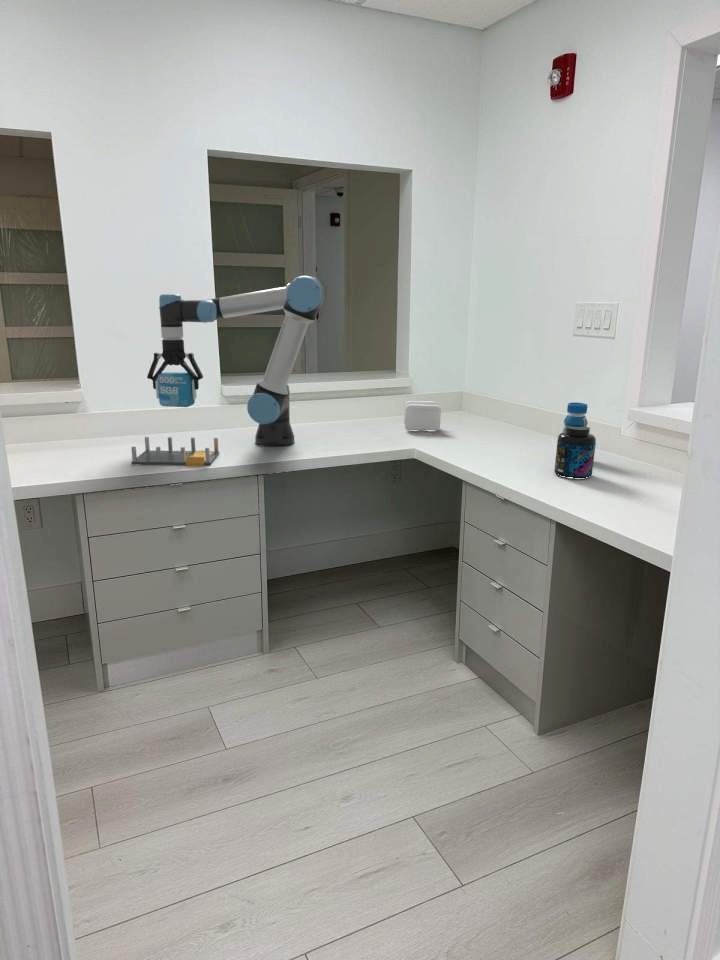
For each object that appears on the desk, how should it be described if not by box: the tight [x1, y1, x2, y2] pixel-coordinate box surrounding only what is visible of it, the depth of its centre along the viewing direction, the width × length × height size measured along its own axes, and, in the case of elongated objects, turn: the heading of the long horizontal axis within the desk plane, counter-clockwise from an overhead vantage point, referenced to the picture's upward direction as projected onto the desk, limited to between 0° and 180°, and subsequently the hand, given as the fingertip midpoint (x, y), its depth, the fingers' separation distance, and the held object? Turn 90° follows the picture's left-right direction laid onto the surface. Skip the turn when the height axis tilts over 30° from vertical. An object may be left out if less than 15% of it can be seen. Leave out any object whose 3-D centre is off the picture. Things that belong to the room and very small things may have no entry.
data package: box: [157, 371, 196, 408], centre depth 245 cm, size 12×4×12 cm, turn 81°
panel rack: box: [131, 436, 220, 467], centre depth 232 cm, size 26×17×6 cm, turn 91°
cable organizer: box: [403, 400, 442, 431], centre depth 286 cm, size 15×11×12 cm
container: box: [554, 425, 597, 478], centre depth 219 cm, size 12×12×16 cm
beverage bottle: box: [562, 401, 589, 432], centre depth 240 cm, size 8×8×20 cm
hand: (176, 398), depth 245 cm, fingers closed on data package, 12 cm apart
